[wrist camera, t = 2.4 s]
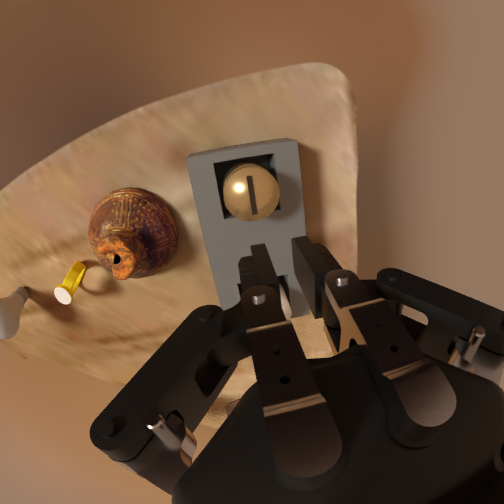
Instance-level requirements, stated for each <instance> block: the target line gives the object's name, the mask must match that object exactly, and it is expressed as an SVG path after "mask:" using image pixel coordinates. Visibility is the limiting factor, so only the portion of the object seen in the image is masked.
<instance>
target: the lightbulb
mask: <svg viewBox="0 0 504 504" xmlns="http://www.w3.org/2000/svg"><path fill="white" fill-rule="evenodd" d="M27 299H28V292H27V290H26V289H25V288H23V287H19V288H18V289H17V290H16V291H15V292H13V293H11V294H10V295H9V296H8V297H6V298H2V299H0V339H10V338H12V337H13V336H14V335H15V334H16V333H17V331H18V328H19V321H20V313H21V311H22V309H23V307H24V304H25V302H26V301H27Z"/></svg>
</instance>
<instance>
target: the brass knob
mask: <svg viewBox="0 0 504 504" xmlns="http://www.w3.org/2000/svg"><path fill="white" fill-rule="evenodd" d="M223 194H224V202H225V205H226V207H227V209H228V210H229V212H230V213H231V214H232V215H233V216H235V217H236V218H238V219H240V220H243V221H249V222H253V221H259V220H262V219H264V218H266V217H267V216H269V215H270V214H271V213H272V212H273V211H274V210H275V208H276V206H277V205H278V202H279V198H280V190H279V186H278V183H277V181H276V180H275V178H274V177H273V176H272V175H271V174H270V173H269V172H268V171H267V170H266V169H265V168H264V167H263V166H262V165H260V164H258V163H255V162H251V161H245V162H240V163H238V164H236V165H234V166H233V167H231V168H230V169H229V171H228V172H227V173H226V175H225V177H224V181H223Z"/></svg>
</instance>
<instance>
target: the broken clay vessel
mask: <svg viewBox="0 0 504 504" xmlns="http://www.w3.org/2000/svg"><path fill="white" fill-rule="evenodd" d="M134 193H135V194H134ZM119 195H120V196H119ZM116 196H117V197H116ZM115 197H116V198H115ZM157 210H158V211H157ZM101 217H102V218H101ZM152 227H153V228H152ZM88 235H89V242H90V245H91V248H92V250H93V252H94V254H95V255H96V257H97V258H98V260H99V262H100V263H101V264H102V265H103V266H104V267H105V268H106V269H107V270H109V271H110V272H112V273H113V277H114V279H115V280H126V279H128V278H136V279H137V278H143V277H148V276H151V275H153V274H155V273H157V272H158V271H160V270H161V269H162V268H164V267H165V266H166V265H167V264H168V262H169V261H170V260H171V258H172V256H173V254H174V253H175V250H176V248H177V242H178V231H177V227H176V224H175V221H174V218H173V216H172V215H171V213H170V212H169V210H168V209H167V208H166V207H165V205H164V204H163V203H162V202H161V201H160V200H159V199H158V198H156V197H155V196H154V195H153V194H151V193H149V192H147V191H145V190H141V189H138V188H123V189H119V190H116V191H113V192H111V193H109V194H108V195H107V196H106V197H105V198H103V199H102V200H101V201H100V202H99V203H98V204H97V205H96V207H95V209H94V211H93V213H92V215H91V218H90V223H89V231H88ZM141 237H142V238H141ZM108 238H109V239H108ZM114 240H115V242H114ZM109 242H110V243H109ZM115 254H117V255H119V257H120V258H121V261H120V263H118V264H113V262H114V258H115Z"/></svg>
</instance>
